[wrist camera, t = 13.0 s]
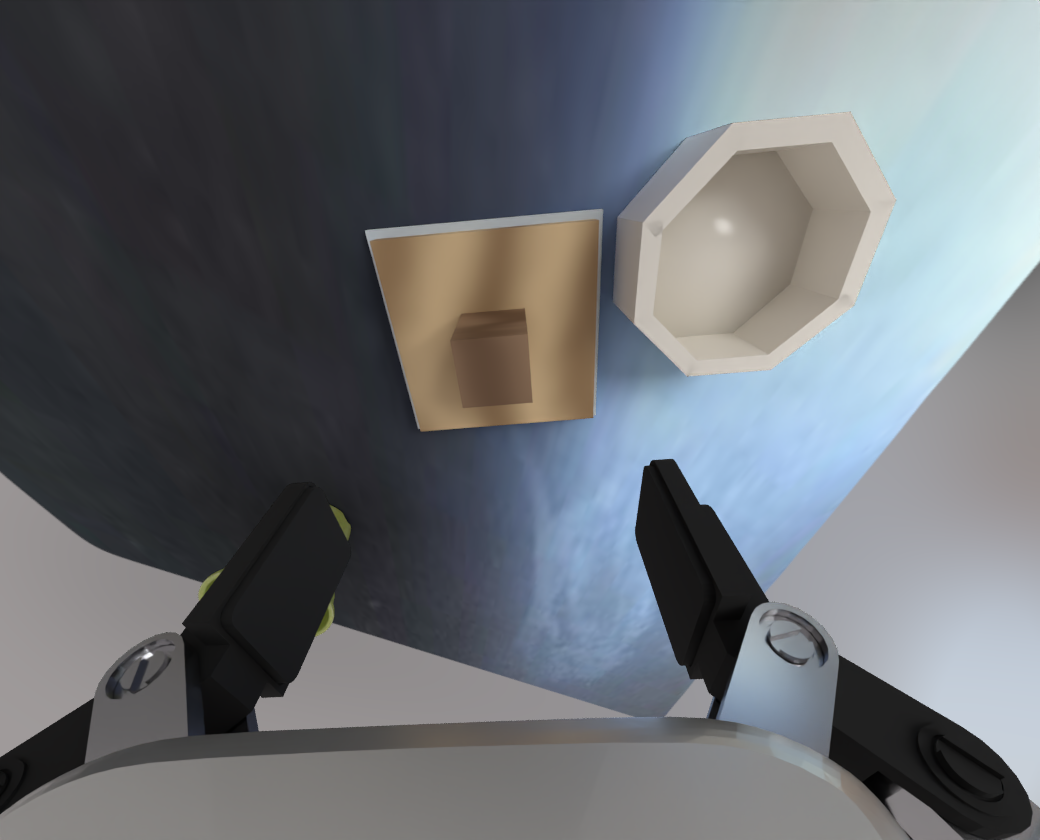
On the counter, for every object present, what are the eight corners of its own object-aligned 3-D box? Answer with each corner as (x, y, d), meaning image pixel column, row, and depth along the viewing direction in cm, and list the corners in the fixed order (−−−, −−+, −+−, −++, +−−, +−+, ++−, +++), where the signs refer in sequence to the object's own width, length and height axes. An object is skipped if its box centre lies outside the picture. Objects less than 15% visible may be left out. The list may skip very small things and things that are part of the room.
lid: (595, 218, 21) (622, 226, 16) (590, 409, 28) (608, 459, 23) (376, 239, 22) (333, 253, 16) (423, 422, 29) (404, 474, 23)
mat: (601, 208, 22) (603, 209, 21) (594, 411, 29) (595, 415, 28) (368, 229, 22) (364, 230, 21) (419, 424, 29) (418, 428, 29)
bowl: (843, 122, 20) (935, 103, 15) (778, 337, 26) (830, 365, 22) (621, 144, 20) (651, 130, 16) (609, 351, 26) (628, 381, 22)
